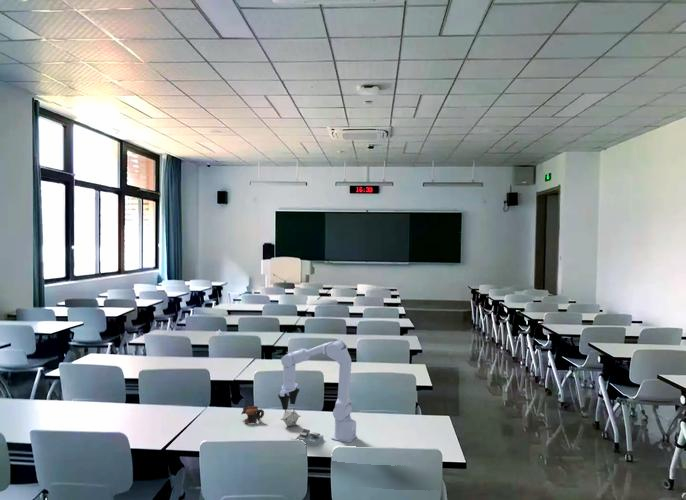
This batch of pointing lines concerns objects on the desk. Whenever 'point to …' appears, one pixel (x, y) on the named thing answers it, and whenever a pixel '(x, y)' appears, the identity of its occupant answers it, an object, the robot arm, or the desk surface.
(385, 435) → the desk surface
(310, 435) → the rocker
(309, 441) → the switch panel
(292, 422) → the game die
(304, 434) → the rocker
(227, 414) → the desk surface
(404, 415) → the desk surface
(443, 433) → the desk surface
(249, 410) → the pottery mug
